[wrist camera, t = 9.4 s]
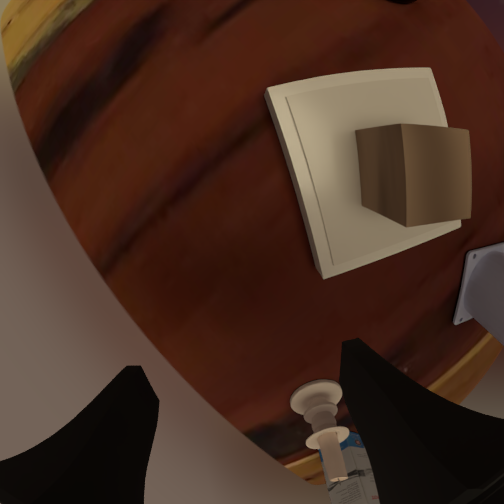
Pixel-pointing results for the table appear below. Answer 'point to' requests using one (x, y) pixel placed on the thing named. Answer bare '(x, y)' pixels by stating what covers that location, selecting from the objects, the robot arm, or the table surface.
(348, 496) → the ink box
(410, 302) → the table surface
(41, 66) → the table surface
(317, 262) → the plate
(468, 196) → the block
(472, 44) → the table surface
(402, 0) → the supplement bottle
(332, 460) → the candle
